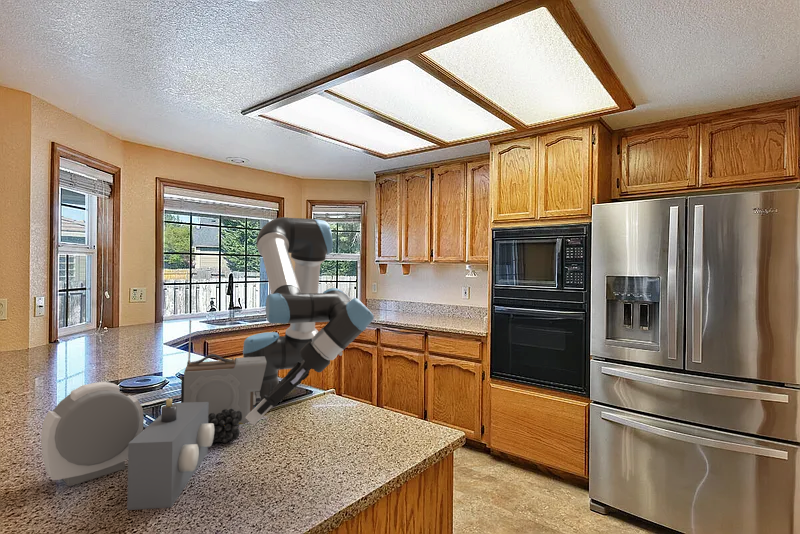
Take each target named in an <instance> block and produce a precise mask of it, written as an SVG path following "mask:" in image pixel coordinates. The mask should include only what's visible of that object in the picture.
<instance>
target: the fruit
mask: <svg viewBox="0 0 800 534" xmlns="http://www.w3.org/2000/svg"><path fill="white" fill-rule="evenodd" d="M241 420H242V412H240V411H234V409H229V410H227V409H224V410H222V413H218V414H217V415H215V414H214V413H211V414H209V416H208V423H213V424H214V438H213V442H212V443H215V442H216V443H220V442H221V443H222V444H227V443H228V441H236V440H237V439H238V438H239V437H240V428H239V427H240V425H244V423H239V421H241ZM224 425H225V426H224Z"/></svg>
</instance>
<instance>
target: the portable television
mask: <svg viewBox="0 0 800 534" xmlns="http://www.w3.org/2000/svg"><path fill="white" fill-rule="evenodd" d="M191 328H192V320H191V319H190V320H189V340H188V355H187V356H188V357H187V359H188V360H187V363H186V364H187V365H186V367H185V369H184V372H183V375H180V376H179V378H180V379H179V380H181V384H180V385H181V387H180V388H181V389H180V391H181V392H180V403H186V402H209V405H208V416H209V414H211V413H214V414H215V415H217V414H218V413H222V410H224V409H227V410H229V409H234V411H240V412H242V420H241V421H239V423H243V424H248V423H250V422H249V421H248V420H247V419H246V418H245V417H246V416H247V415H248V414H249V413H250V412H251V411H252V410H253V409H254V408H255V404H256V402H260V399H261V397H260V392H257V391H260V389H261V385H262V381H263V377H264V373H265V368H266V363H267V361H266V358H265V356H261V357H244V358H243V357H235V358H234V356H232V359H231V358H230V359H228V358H225V357H224V358H223V357H222V356H220V355H218V354H215V353H211V354H208V355H206V356H204V357H203V358H201V359H199V360H195V361H191V342H192V341H191V336H192V335H191V334H192V329H191ZM210 358H215V359H218V360H213V361H210V360H209V361H205V360H207V359H210ZM255 392H256V394H255Z"/></svg>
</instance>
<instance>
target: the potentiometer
mask: <svg viewBox="0 0 800 534" xmlns="http://www.w3.org/2000/svg"><path fill="white" fill-rule="evenodd" d="M160 410H161V411H160V412H161V413H160V415H161V422H164V423H167V422H173V421H175V420H176V419H177V405H174V403H173V398H166V399H165V405H162V406H161V409H160Z"/></svg>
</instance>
